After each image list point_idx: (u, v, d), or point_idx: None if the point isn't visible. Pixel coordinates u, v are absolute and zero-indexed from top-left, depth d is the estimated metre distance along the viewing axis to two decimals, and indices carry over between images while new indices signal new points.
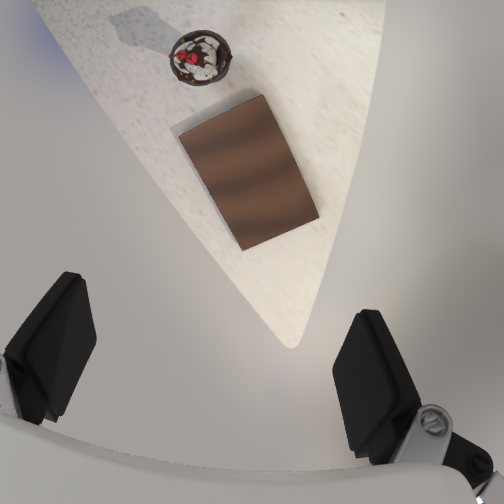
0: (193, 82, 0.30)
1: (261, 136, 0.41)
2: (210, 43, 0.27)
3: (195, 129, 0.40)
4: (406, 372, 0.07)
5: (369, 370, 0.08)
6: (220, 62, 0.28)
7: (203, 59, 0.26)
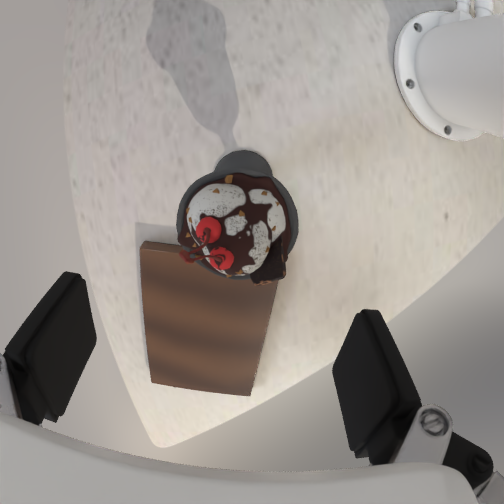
0: None
1: (243, 308, 0.30)
2: (272, 226, 0.16)
3: (166, 254, 0.27)
4: (406, 372, 0.07)
5: (369, 370, 0.08)
6: (263, 272, 0.17)
7: (240, 268, 0.15)
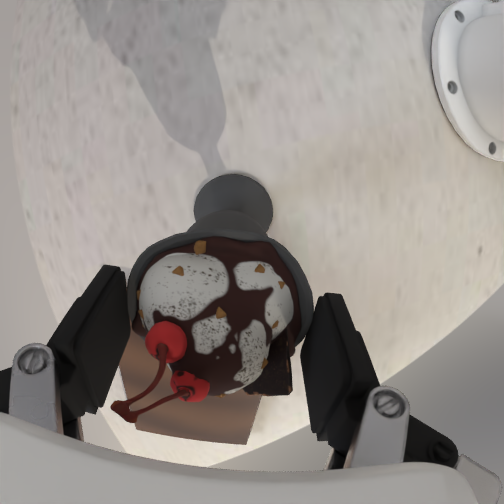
0: None
1: None
2: (272, 322, 0.10)
3: None
4: (361, 352, 0.08)
5: (327, 351, 0.09)
6: (258, 380, 0.11)
7: (221, 392, 0.09)
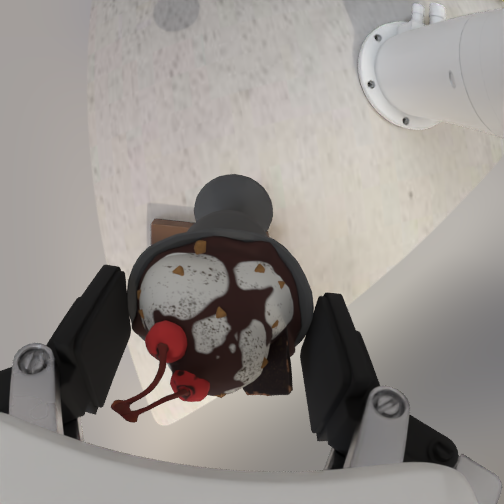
0: None
1: None
2: (272, 322, 0.10)
3: (174, 228, 0.33)
4: (361, 352, 0.08)
5: (327, 351, 0.09)
6: (258, 379, 0.11)
7: (221, 391, 0.09)
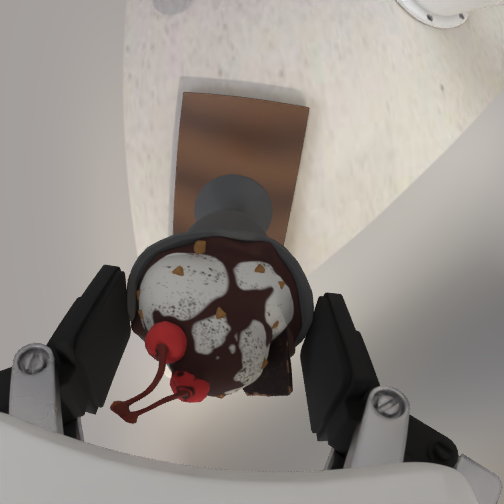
0: None
1: (275, 151, 0.31)
2: (272, 322, 0.10)
3: (208, 96, 0.28)
4: (361, 352, 0.08)
5: (327, 351, 0.09)
6: (258, 380, 0.11)
7: (221, 392, 0.09)
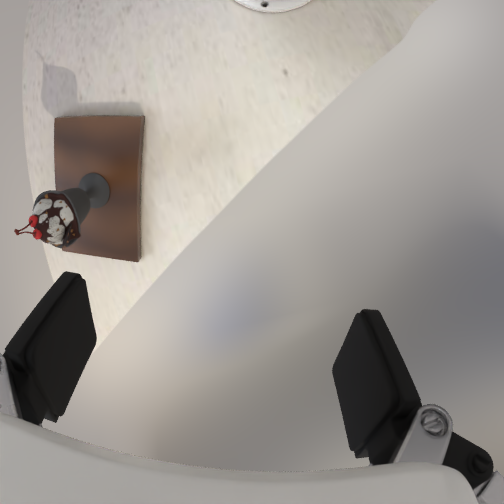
0: None
1: (118, 157, 0.35)
2: (63, 218, 0.27)
3: (69, 119, 0.32)
4: (406, 372, 0.07)
5: (369, 370, 0.08)
6: (63, 242, 0.28)
7: (46, 238, 0.26)
